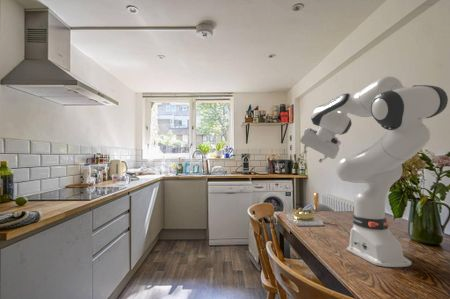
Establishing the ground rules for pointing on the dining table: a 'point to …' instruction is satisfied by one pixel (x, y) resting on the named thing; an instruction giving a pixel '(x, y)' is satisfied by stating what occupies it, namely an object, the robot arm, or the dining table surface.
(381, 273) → the dining table surface
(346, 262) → the dining table surface
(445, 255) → the dining table surface
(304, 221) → the cap plate
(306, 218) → the ring nut
